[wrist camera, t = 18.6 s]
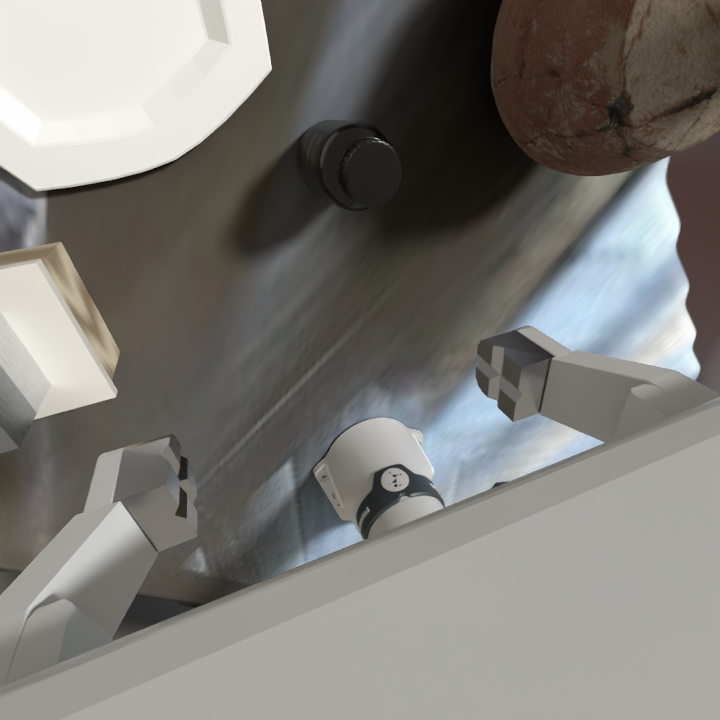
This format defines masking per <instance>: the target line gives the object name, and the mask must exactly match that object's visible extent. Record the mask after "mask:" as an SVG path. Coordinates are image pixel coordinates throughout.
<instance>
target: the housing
mask: <svg viewBox="0 0 720 720" xmlns="http://www.w3.org/2000/svg"><path fill="white" fill-rule="evenodd" d="M50 386H51V383H50V382H49V380H48V379H47V378H46V376H45V375H44V373H43V372H42V370H41V369H40V368H39V366H38V365H37V363H36V362H35V360H34V359H33V357H32V356H31V355H30V353H29V352H28V350H27V349H26V347H25V346H24V345H23V343H22V342H21V340H20V339H19V337H18V336H17V334H16V333H15V332H14V330H13V329H12V327H11V326H10V324H9V323H8V322H7V320H6V319H5V317H4V316H3V314H2V313H0V453H4V452H7V451H11V450H15V449H18V448H20V446H21V444H22V442H23V440H24V438H25V436H26V434H27V432H28V430H29V428H30V426H31V424H32V422H33V420H34V418H35V416H36V414H37V412H38V410H39V408H40V406H41V404H42V402H43V400H44V398H45V396H46V394H47V392H48V390H49V388H50Z"/></svg>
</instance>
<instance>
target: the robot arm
mask: <svg viewBox="0 0 720 720" xmlns="http://www.w3.org/2000/svg"><path fill="white" fill-rule="evenodd" d="M477 354H478V355H479V357H480V358H481V360H480V362H479V363H478V365H477V366H476V379H477V382H478V386H479V387H480V389H481V390H482V392H483V393H484V394H485V395H486V396H487V397H488V398H491V399H494V400H497V402H498V408H499V409H500V410H501V411H502V412H503V413H504V414H505V415H506V416H508V417H509V418H510V419H511V420H512V421H513V422H514V421H517V420H520V419H523V418H526V417H529V416H532V415H535V414H538V413H540V415H542V416H545V417H547V418H549V419H552V420H554V421H556V422H559V423H561V424H563V425H566V426H568V427H570V428H573V429H575V430H577V431H580V432H582V433H584V434H587V435H589V436H591V437H594V438H596V439H598V440H601V441H603V442H605V443H604V444H601V445H599V446H596V447H594V448H591V449H589V450H587V451H584V452H582V453H579V454H577V455H574V456H572V457H569V458H567V459H564V460H562V461H559V462H557V463H554V464H552V465H549V466H547V467H544V468H542V469H539V470H537V471H534V472H532V473H529V474H527V475H524V476H522V477H520V478H517V479H515V480H512V481H510V482H507V483H505V484H502V485H500V486H497V487H495V488H492V489H490V490H487V491H485V492H482V493H480V494H477V495H475V496H472V497H470V498H467V499H465V500H462V501H460V502H458V503H455V504H453V505H450V506H448V507H445V505H444V502H443V499H442V498H441V495H440V493H439V491H438V490H437V488H436V487H435V486H434V485H433V483H432V479H433V474H434V469H433V467H432V465H431V463H430V462H429V460H428V458H427V456H426V455H425V453H424V451H423V449H422V444H423V439H424V437H423V435H422V433H421V431H419V430H415V429H409V428H407V427H406V426H404V425H403V424H402V423H400V422H399V421H397V420H394V419H390V418H374V419H370V420H366V421H363V422H361V423H358V424H356V425H354V426H352V427H351V428H349V429H348V430H346V431H345V432H344V433H343V434H341V435H340V436H339V437H338V438H337V440H336V441H335V442H334V443H333V445H332V446H331V448H330V450H329V452H328V453H327V455H326V456H325V458H324V459H322V460H321V461H320V462H319V463H318V464H317V465H316V466H315V467H314V469H313V473H314V475H315V477H316V479H317V481H318V482H319V484H320V485H321V487H322V489H323V490H324V492H325V494H326V495H327V497H328V499H329V500H330V502H331V503H332V505H333V507H334V508H335V510H336V512H337V513H338V515H339V517H340V518H341V519H342V520H351V521H352V522H353V524H354V526H355V527H356V529H357V530H358V532H359V533H360V534H361V536H362V538H363V541H361V542H358V543H356V544H353V545H351V546H348V547H346V548H343V549H341V550H338V551H336V552H333V553H331V554H328V555H326V556H323V557H321V558H318V559H316V560H313V561H311V562H308V563H306V564H303V565H301V566H299V567H296V568H294V569H291V570H289V571H286V572H284V573H281V574H279V575H276V576H274V577H271V578H269V579H266V580H264V581H261V582H259V583H256V584H254V585H251V586H249V587H246V588H244V589H241V590H239V591H236V592H234V593H231V594H229V595H227V596H224V597H222V598H219V599H217V600H214V601H212V602H209V603H207V604H204V605H202V606H199V607H197V608H194V609H192V610H189V611H187V612H184V613H182V614H179V615H177V616H174V617H172V618H170V619H167V620H164V621H162V622H160V623H157V624H155V625H152V626H150V627H147V628H145V629H142V630H140V631H137V632H135V633H132V634H130V635H127V636H125V637H122V638H120V639H117V640H115V641H113V640H112V637H113V635H114V633H115V632H116V630H117V628H118V626H119V624H120V623H121V621H122V619H123V617H124V615H125V613H126V612H127V610H128V608H129V606H130V605H131V603H132V601H133V599H134V597H135V595H136V594H137V592H138V590H139V588H140V586H141V585H142V583H143V581H144V579H145V577H146V576H147V574H148V572H149V570H150V568H151V566H152V565H153V563H154V561H155V559H156V557H157V556H158V553H157V552H159V551H162V550H164V549H167V548H170V547H172V546H175V545H177V544H180V543H182V542H185V541H187V540H190V539H193V538H195V537H197V511H196V509H195V507H194V506H193V504H192V503H193V501H194V500H195V498H196V497H197V488H196V482H195V476H194V473H193V470H192V467H191V465H190V463H189V461H188V459H187V458H184V457H182V456H181V445H180V444H179V442H178V440H177V438H176V437H175V435H173V434H170V435H166V436H162V437H159V438H155V439H152V440H148V441H145V442H141V443H137V444H134V445H130V446H127V447H125V448H120V449H117V450H114V451H110V452H107V453H103V454H102V455H101V456H100V457H99V458H98V459H97V463H96V467H95V471H94V474H93V478H92V482H91V485H90V489H89V493H88V496H87V500H86V504H85V507H84V511H83V513H81V514H78V515H75V516H74V517H73V519H72V520H71V521H70V522H69V523H68V524H67V525H66V526H65V527H64V528H63V529H62V530H61V531H60V532H59V533H58V535H57V536H56V537H55V538H54V539H53V540H52V541H51V542H50V543H49V544H48V545H47V546H46V547H45V548H44V550H43V551H42V552H41V553H40V554H39V555H38V556H37V557H36V558H35V559H34V560H33V561H32V562H31V563H30V564H29V566H28V567H27V568H26V569H25V570H24V571H23V572H22V573H21V574H20V575H19V576H18V577H17V578H16V579H15V580H14V582H13V583H12V584H11V585H10V586H9V587H8V588H7V589H6V590H5V591H4V592H3V593H2V594H1V596H0V720H720V394H718V393H716V392H715V391H713V390H711V389H709V388H707V387H705V386H703V385H702V384H700V383H698V382H696V381H694V380H692V379H691V378H689V377H687V376H685V375H683V374H681V373H680V372H678V371H675V370H670V369H665V368H661V367H656V366H651V365H646V364H641V363H637V362H632V361H627V360H622V359H617V358H613V357H608V356H603V355H598V354H593V353H588V352H584V351H579V350H576V351H573V352H572V351H571V350H569V349H568V348H566V347H564V346H563V345H561V344H560V343H558V342H557V341H555V340H553V339H552V338H550V337H549V336H547V335H545V334H544V333H542V332H541V331H539V330H538V329H536V328H534V327H533V326H524V327H521V328H518V329H515V330H512V331H511V332H507V333H504V334H501V335H498V336H494V337H491V338H488V339H485V340H481V341H480V343H479V345H478V350H477Z"/></svg>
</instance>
